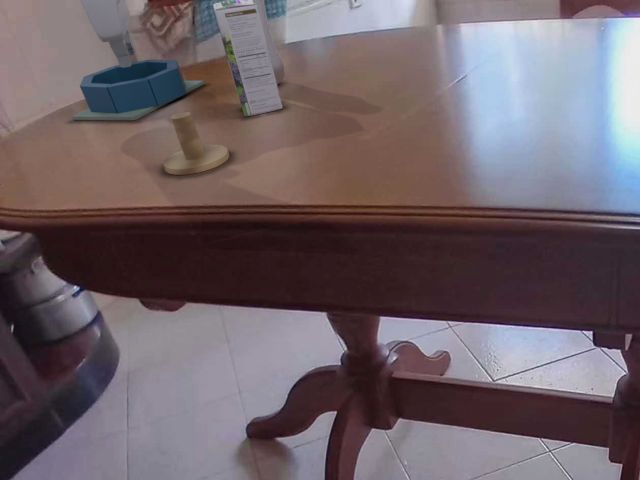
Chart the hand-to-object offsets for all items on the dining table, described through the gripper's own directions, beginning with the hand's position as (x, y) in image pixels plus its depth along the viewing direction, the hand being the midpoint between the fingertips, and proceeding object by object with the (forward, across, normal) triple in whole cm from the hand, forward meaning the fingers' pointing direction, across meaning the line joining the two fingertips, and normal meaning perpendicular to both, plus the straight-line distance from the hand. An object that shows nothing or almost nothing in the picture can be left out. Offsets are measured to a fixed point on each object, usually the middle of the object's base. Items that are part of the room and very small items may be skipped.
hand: (128, 60), depth 116 cm
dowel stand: (+5, +42, +8) cm, 43 cm away
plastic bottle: (+5, +12, +20) cm, 25 cm away
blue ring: (+5, +6, 0) cm, 8 cm away
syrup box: (+5, +24, +18) cm, 31 cm away
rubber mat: (+5, +6, 0) cm, 8 cm away
